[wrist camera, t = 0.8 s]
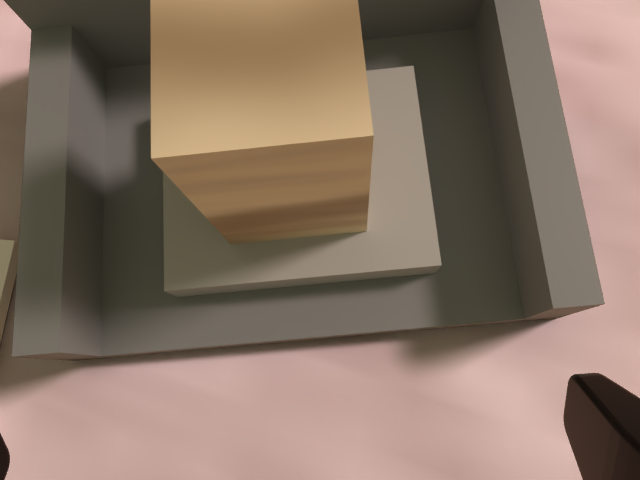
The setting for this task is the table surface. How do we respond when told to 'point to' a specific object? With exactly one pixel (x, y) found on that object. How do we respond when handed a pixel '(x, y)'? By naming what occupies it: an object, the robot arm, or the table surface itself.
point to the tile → (7, 276)
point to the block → (263, 114)
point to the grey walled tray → (306, 252)
